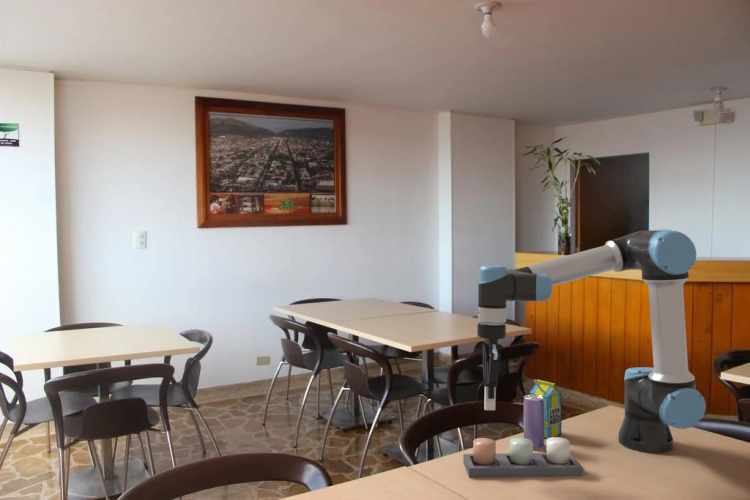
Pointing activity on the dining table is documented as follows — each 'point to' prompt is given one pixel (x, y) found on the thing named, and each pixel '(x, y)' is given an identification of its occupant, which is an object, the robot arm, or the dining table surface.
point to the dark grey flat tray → (522, 467)
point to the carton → (549, 407)
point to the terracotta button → (484, 451)
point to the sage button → (521, 450)
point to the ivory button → (558, 450)
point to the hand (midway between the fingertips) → (489, 409)
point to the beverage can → (534, 420)
